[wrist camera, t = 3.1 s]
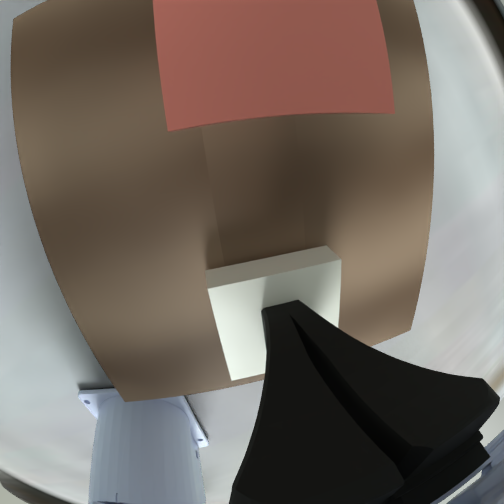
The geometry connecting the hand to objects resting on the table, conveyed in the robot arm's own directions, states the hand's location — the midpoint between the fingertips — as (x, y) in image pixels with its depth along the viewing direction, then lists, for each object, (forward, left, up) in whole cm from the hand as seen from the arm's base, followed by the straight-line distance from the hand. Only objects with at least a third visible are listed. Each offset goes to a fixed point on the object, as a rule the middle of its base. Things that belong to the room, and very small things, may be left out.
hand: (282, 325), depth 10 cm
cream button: (0, 0, -5) cm, 5 cm away
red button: (+9, 0, -2) cm, 9 cm away
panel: (+4, 0, -5) cm, 7 cm away
